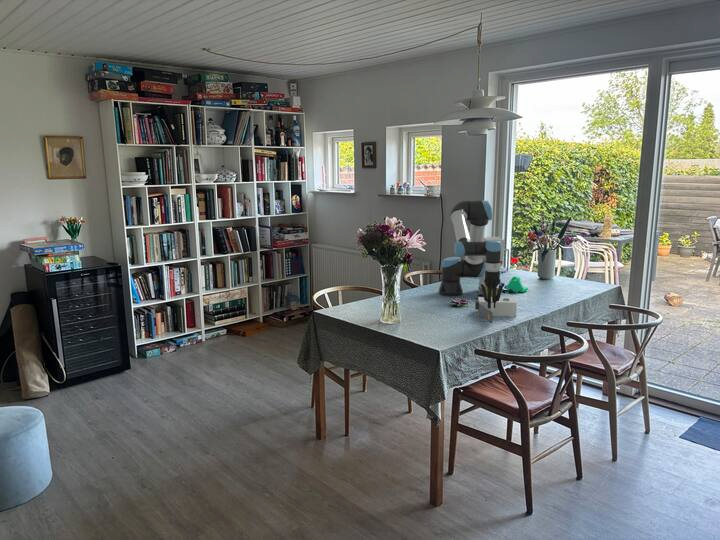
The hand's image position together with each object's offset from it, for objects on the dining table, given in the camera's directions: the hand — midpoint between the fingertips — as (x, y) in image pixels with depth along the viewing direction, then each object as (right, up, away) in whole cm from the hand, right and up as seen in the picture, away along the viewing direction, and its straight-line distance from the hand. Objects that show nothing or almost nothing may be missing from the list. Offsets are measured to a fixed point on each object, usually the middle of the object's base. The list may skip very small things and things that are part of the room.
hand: (491, 314), depth 285 cm
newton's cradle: (+29, +20, +119) cm, 125 cm away
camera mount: (+33, +9, +68) cm, 76 cm away
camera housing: (+7, -1, +18) cm, 19 cm away
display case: (+15, +9, +66) cm, 68 cm away
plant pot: (+9, +3, +37) cm, 38 cm away
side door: (-2, -3, +6) cm, 7 cm away
